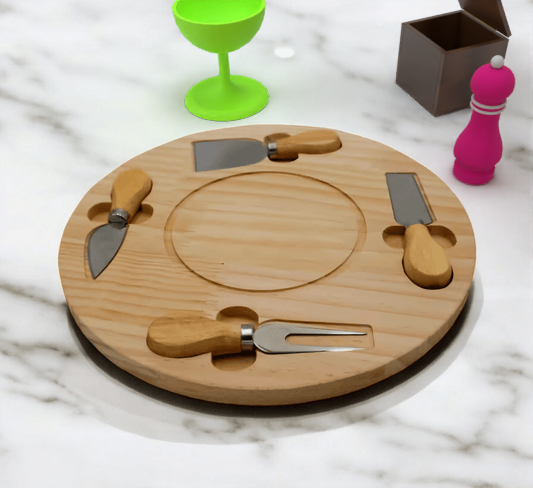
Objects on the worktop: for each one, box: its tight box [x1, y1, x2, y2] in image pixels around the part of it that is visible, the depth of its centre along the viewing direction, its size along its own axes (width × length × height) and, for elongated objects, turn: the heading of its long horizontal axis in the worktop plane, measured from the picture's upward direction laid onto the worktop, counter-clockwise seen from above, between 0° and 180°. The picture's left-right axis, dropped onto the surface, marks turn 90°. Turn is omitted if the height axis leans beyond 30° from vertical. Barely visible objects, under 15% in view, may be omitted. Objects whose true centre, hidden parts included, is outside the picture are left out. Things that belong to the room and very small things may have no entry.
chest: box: [395, 9, 510, 118], centre depth 118 cm, size 13×14×12 cm
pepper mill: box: [452, 55, 516, 186], centre depth 96 cm, size 7×7×20 cm
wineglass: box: [171, 0, 270, 122], centre depth 117 cm, size 16×16×18 cm
